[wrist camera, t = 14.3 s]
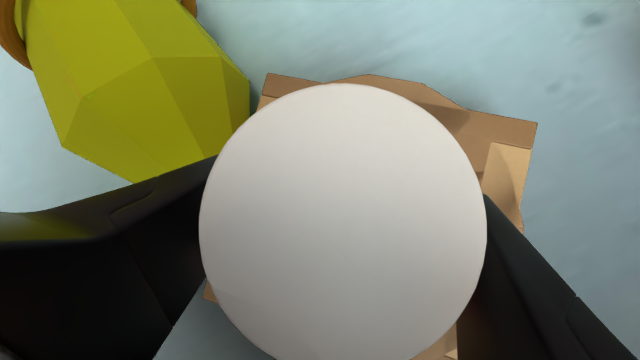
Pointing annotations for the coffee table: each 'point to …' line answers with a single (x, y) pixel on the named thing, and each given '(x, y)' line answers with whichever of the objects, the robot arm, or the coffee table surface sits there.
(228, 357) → the coffee table surface
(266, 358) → the coffee table surface
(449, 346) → the socket pad
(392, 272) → the pill bottle
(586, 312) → the robot arm
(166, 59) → the plumb bob
